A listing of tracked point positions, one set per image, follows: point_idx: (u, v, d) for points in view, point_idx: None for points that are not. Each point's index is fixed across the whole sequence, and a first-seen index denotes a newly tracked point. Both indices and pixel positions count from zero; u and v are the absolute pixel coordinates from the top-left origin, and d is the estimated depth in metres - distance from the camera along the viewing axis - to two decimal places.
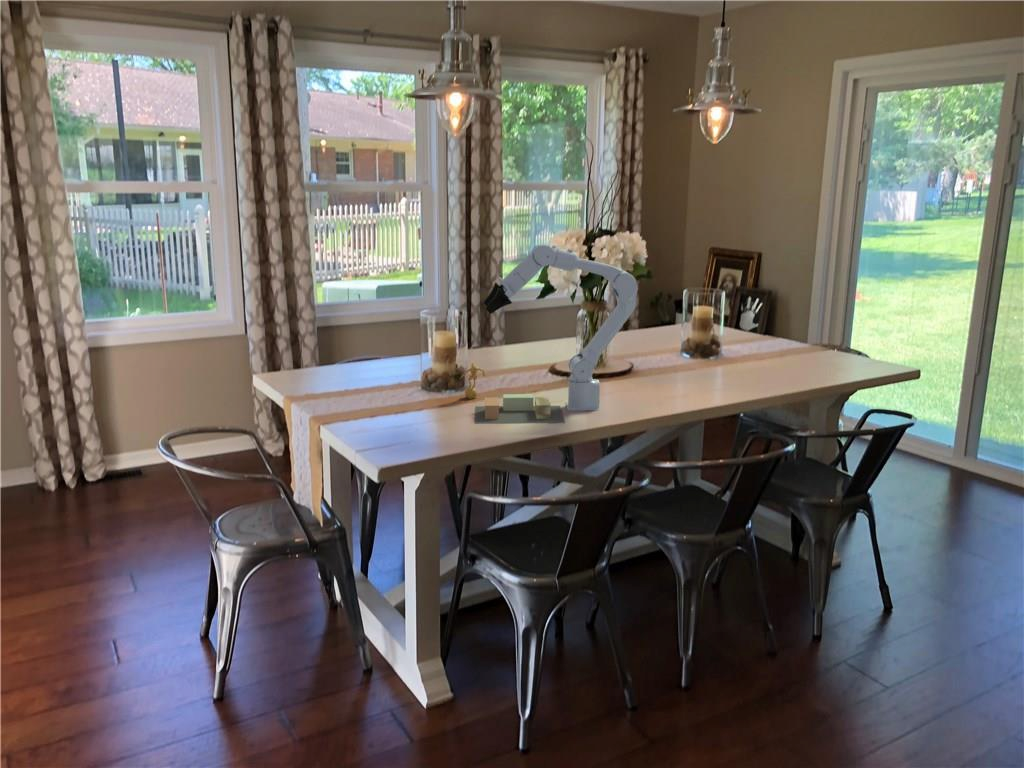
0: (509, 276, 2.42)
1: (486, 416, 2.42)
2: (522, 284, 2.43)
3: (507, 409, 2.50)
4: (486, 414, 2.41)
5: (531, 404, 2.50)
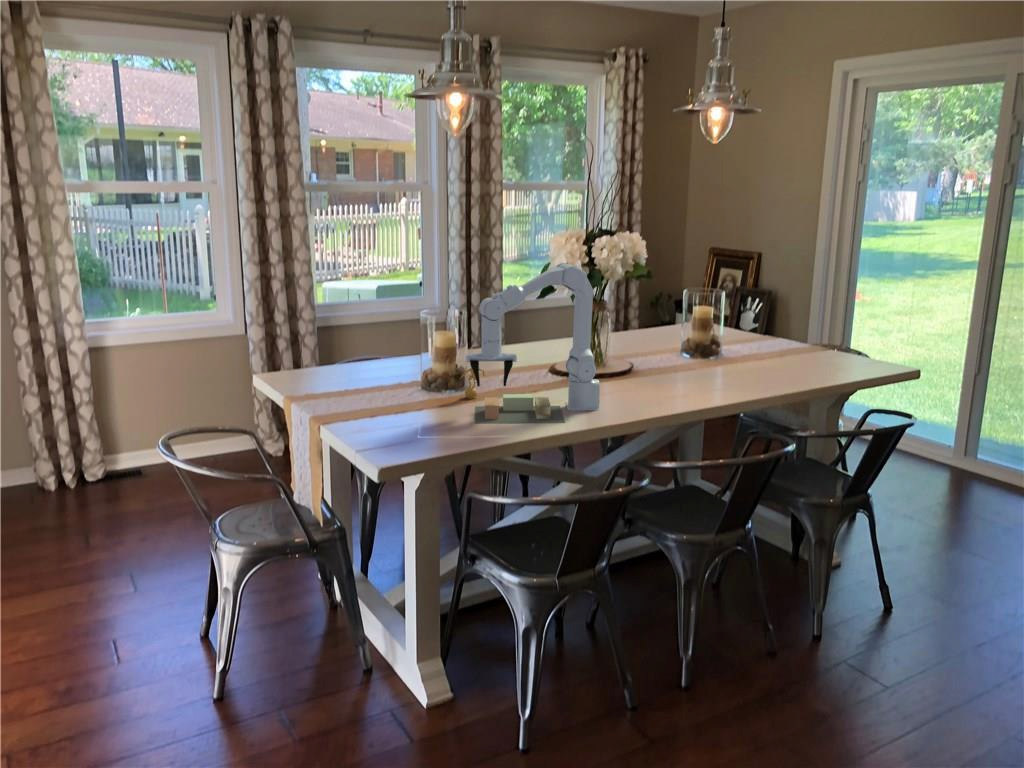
0: (496, 349, 2.39)
1: (486, 416, 2.42)
2: None
3: (507, 409, 2.50)
4: (486, 414, 2.41)
5: (531, 404, 2.50)
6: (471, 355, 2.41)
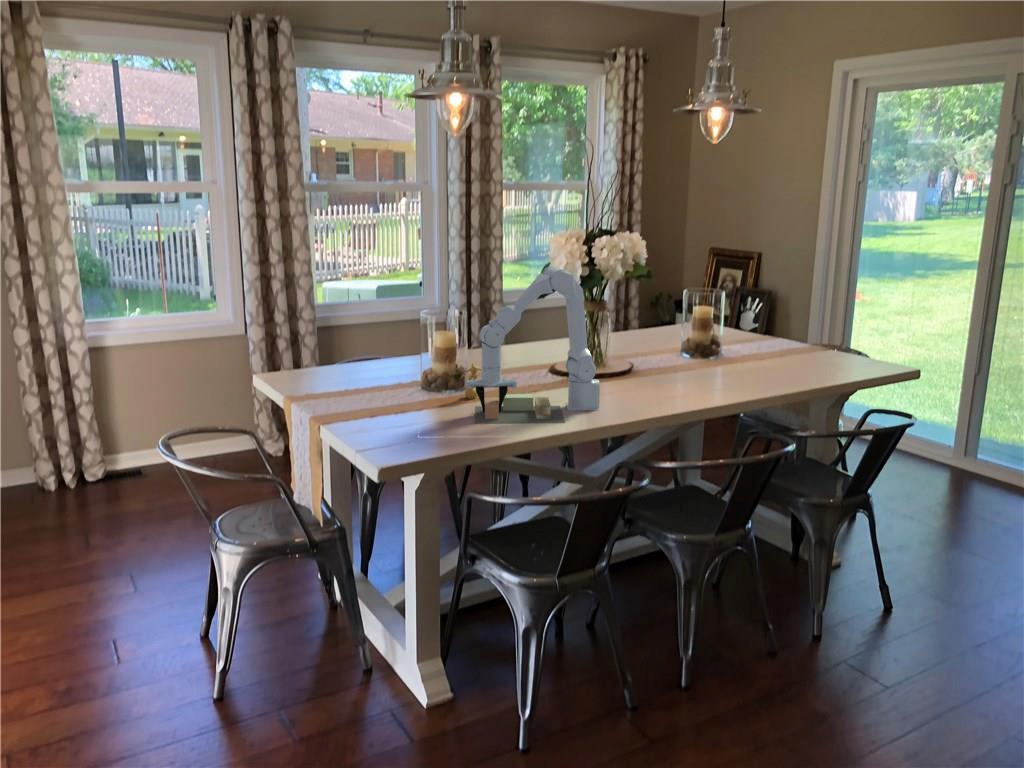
0: (496, 375, 2.41)
1: (486, 416, 2.42)
2: None
3: (507, 409, 2.50)
4: (486, 414, 2.41)
5: (531, 404, 2.50)
6: (471, 381, 2.43)
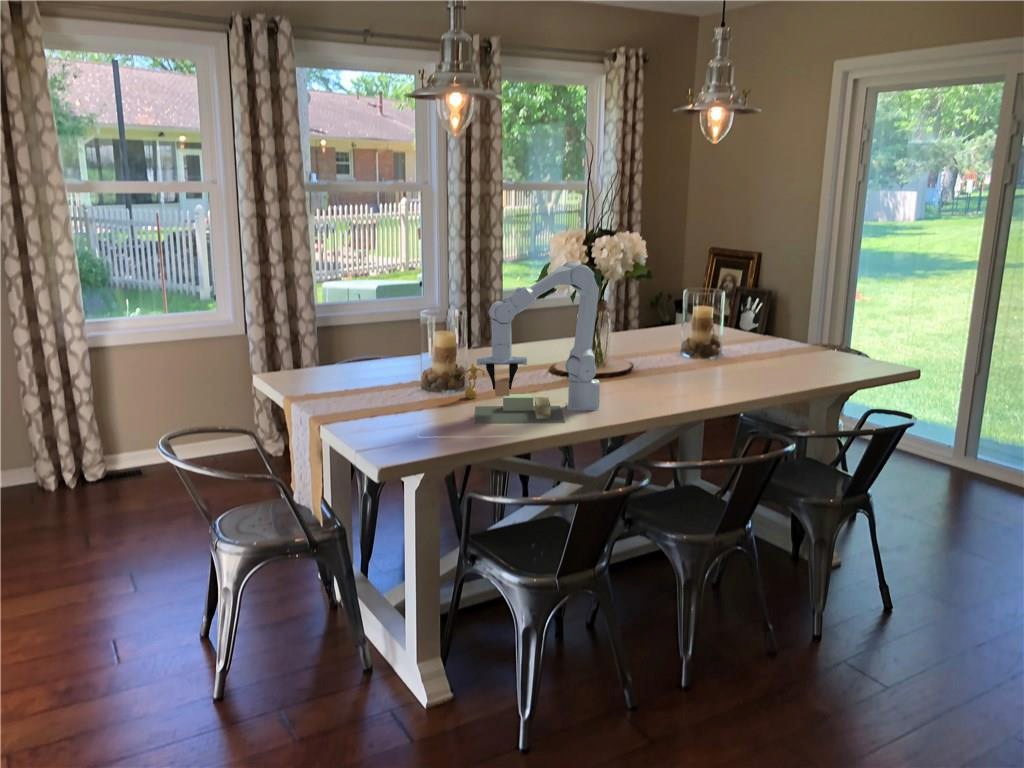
0: (506, 352, 2.39)
1: (496, 393, 2.40)
2: None
3: (507, 409, 2.50)
4: (496, 391, 2.40)
5: (531, 404, 2.50)
6: (481, 358, 2.42)
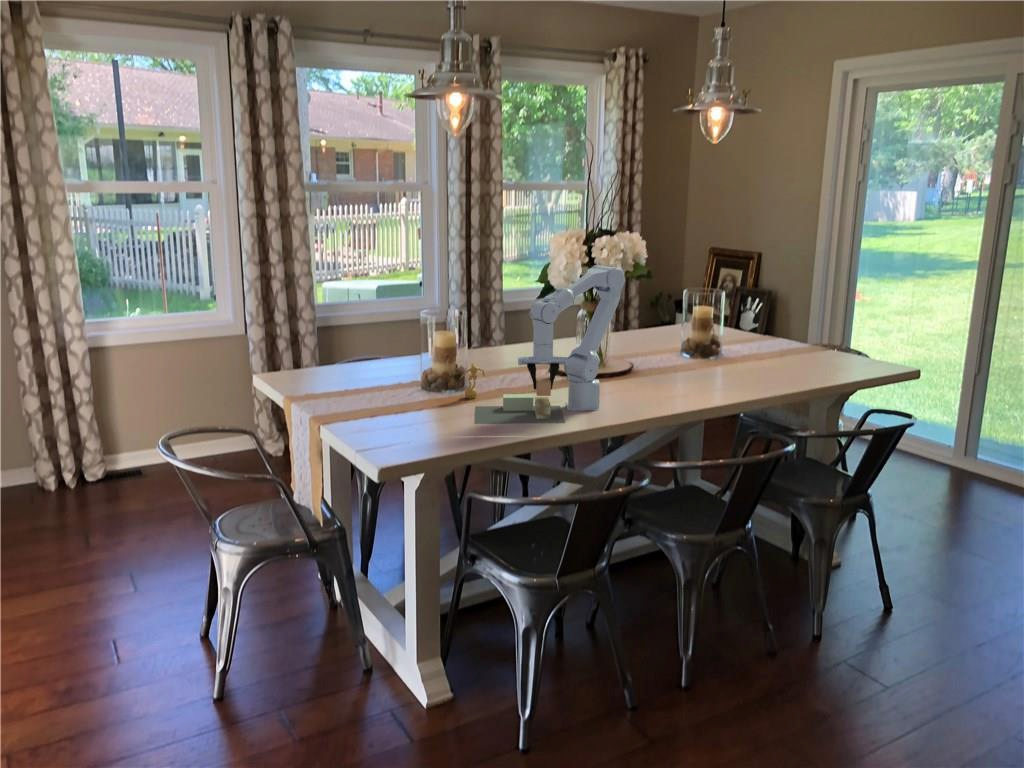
0: (548, 352, 2.40)
1: (538, 393, 2.40)
2: None
3: (507, 409, 2.50)
4: (538, 391, 2.40)
5: (531, 404, 2.50)
6: (523, 358, 2.42)
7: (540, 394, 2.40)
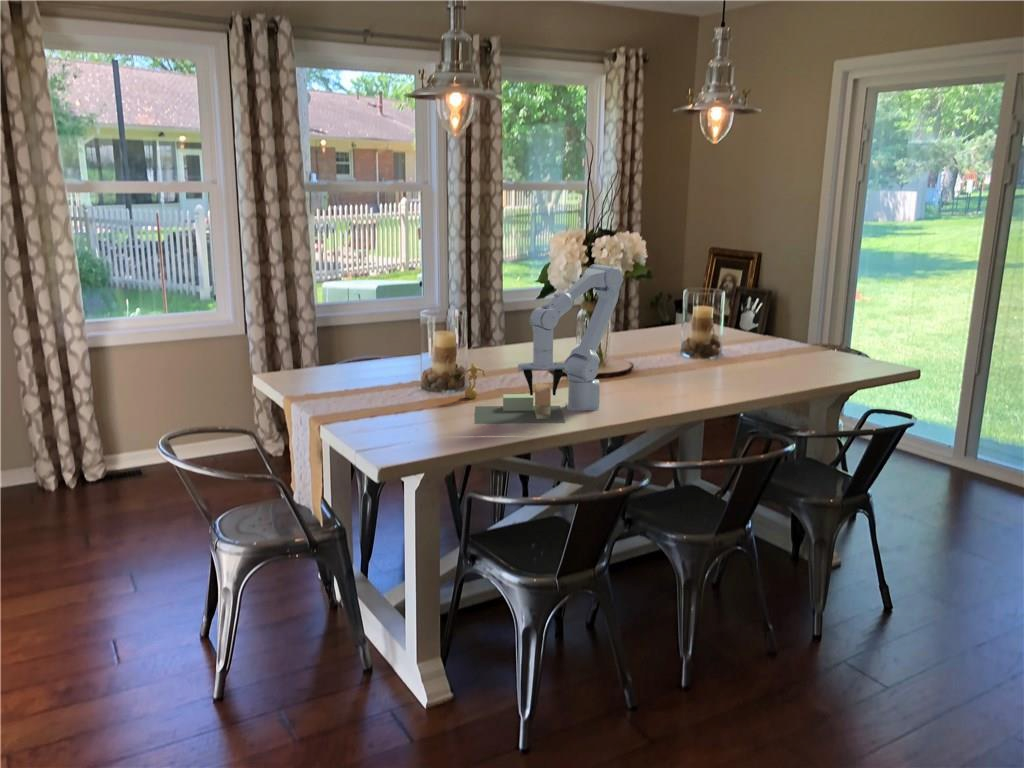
0: (548, 358, 2.40)
1: (538, 402, 2.41)
2: None
3: (507, 409, 2.50)
4: (538, 400, 2.41)
5: (531, 404, 2.50)
6: (523, 364, 2.43)
7: (540, 403, 2.41)
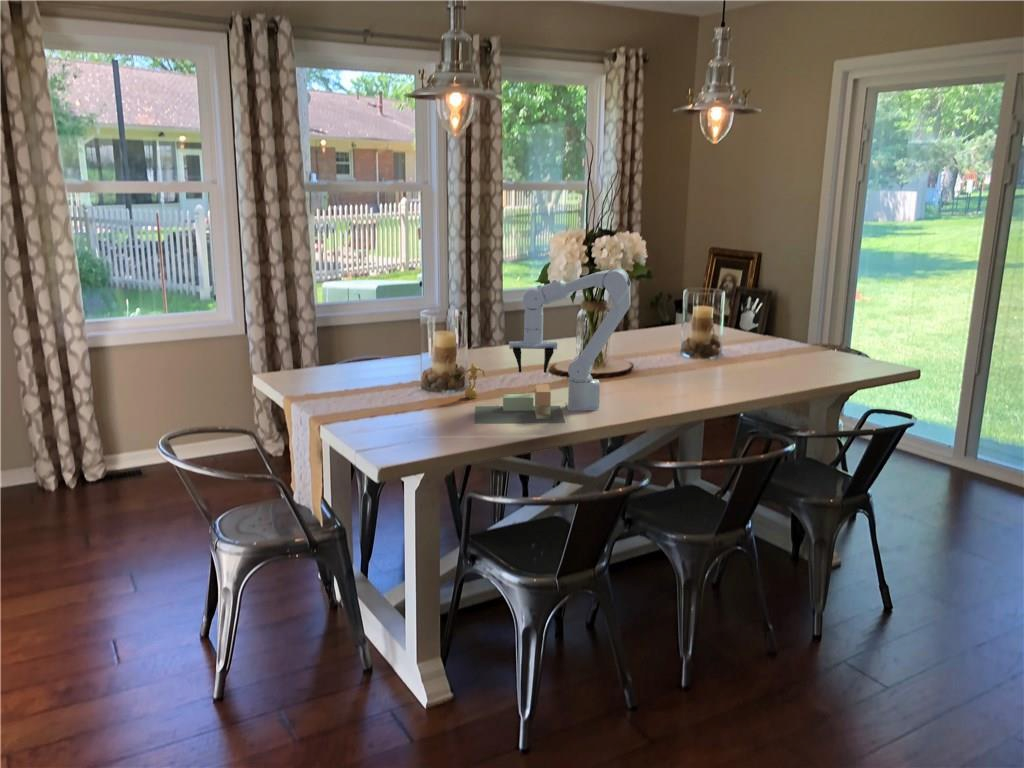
0: (538, 337, 2.50)
1: (538, 402, 2.41)
2: None
3: (507, 409, 2.50)
4: (538, 400, 2.41)
5: (531, 404, 2.50)
6: (514, 342, 2.53)
7: (540, 403, 2.41)
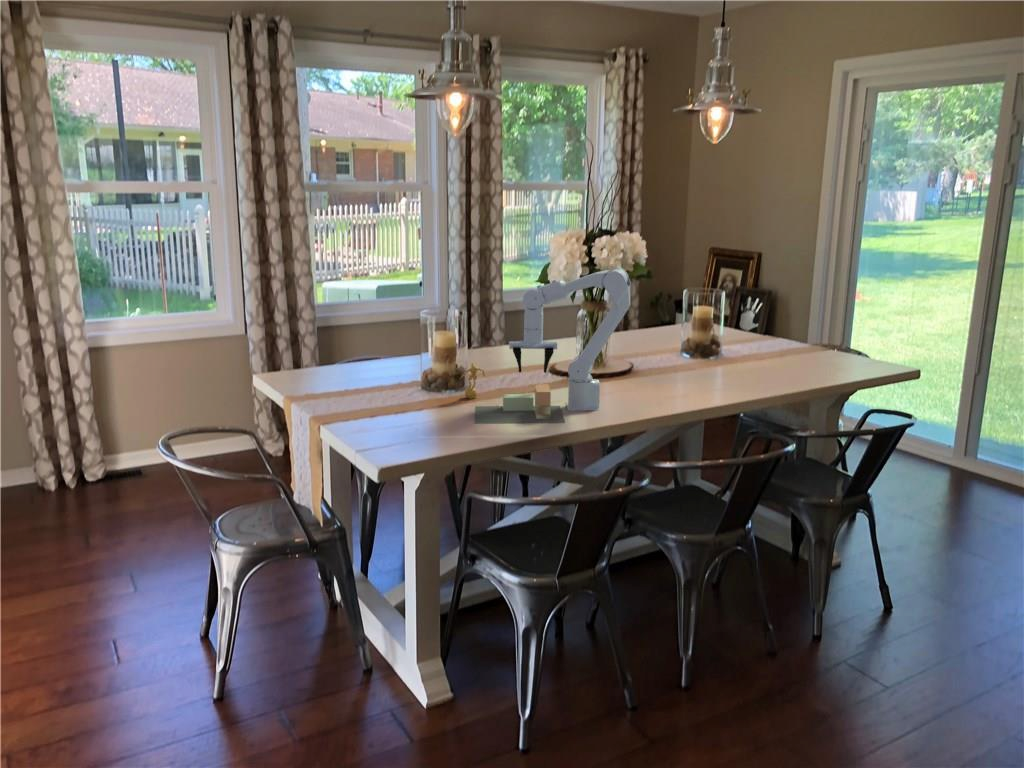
0: (538, 337, 2.51)
1: (538, 402, 2.41)
2: None
3: (507, 409, 2.50)
4: (538, 400, 2.41)
5: (531, 404, 2.50)
6: (514, 342, 2.53)
7: (540, 403, 2.41)
